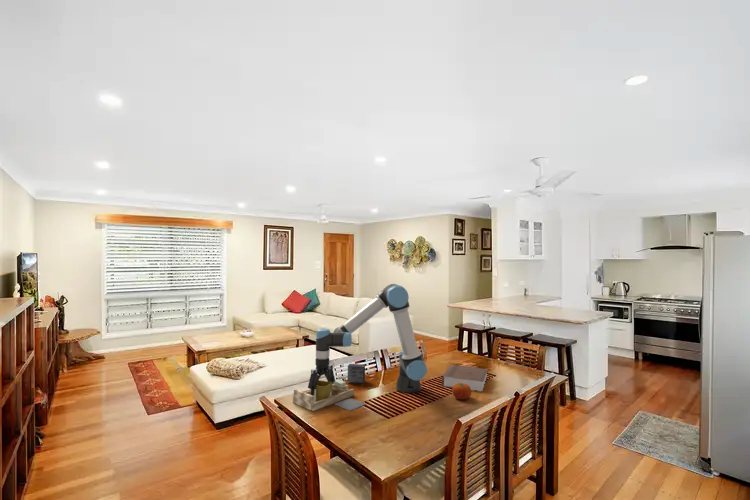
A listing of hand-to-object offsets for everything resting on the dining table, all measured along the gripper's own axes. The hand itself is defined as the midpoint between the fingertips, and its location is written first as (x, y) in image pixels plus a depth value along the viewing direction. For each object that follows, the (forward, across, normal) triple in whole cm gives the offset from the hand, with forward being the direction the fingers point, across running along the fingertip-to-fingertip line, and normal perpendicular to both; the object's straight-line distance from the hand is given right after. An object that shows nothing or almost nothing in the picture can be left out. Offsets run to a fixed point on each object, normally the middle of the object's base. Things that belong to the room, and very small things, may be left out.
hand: (321, 398), depth 208 cm
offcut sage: (-4, -13, 0) cm, 14 cm away
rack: (+1, -2, 0) cm, 2 cm away
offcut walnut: (+1, -13, 0) cm, 13 cm away
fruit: (+1, -56, +55) cm, 78 cm away
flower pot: (+1, 0, 0) cm, 1 cm away
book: (+2, -84, +43) cm, 94 cm away
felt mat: (+1, -6, +16) cm, 17 cm away
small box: (+1, -35, -7) cm, 36 cm away
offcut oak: (-2, -13, 0) cm, 13 cm away
